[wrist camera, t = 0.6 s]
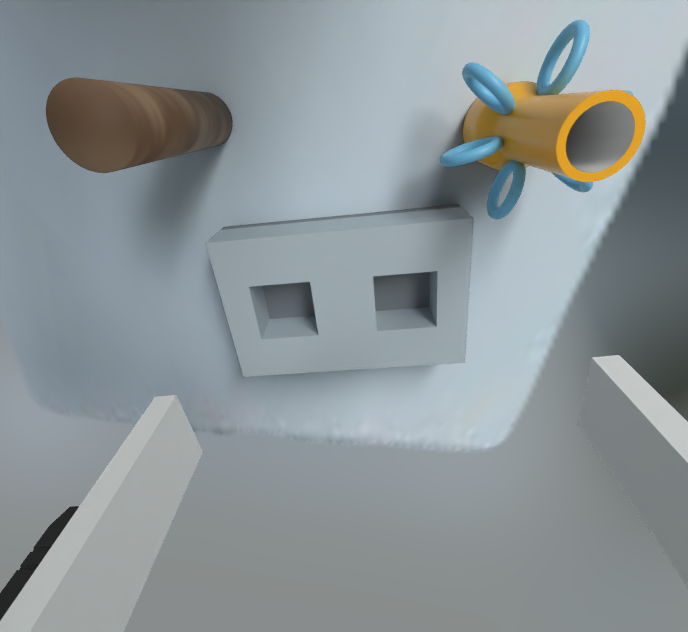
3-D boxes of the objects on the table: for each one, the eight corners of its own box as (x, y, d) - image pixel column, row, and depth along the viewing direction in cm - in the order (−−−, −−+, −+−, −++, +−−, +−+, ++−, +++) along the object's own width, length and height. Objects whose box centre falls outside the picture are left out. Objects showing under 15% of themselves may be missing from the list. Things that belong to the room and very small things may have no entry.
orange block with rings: (439, 211, 35) (489, 273, 22) (410, 87, 30) (450, 69, 17) (580, 164, 33) (731, 201, 19) (571, 22, 28) (761, -57, 15)
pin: (178, 95, 31) (30, 83, 17) (225, 89, 31) (114, 72, 17) (192, 148, 33) (69, 176, 19) (237, 143, 33) (146, 168, 19)
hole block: (224, 226, 36) (205, 243, 32) (458, 204, 34) (473, 218, 30) (255, 349, 43) (243, 376, 38) (453, 335, 41) (465, 362, 37)
